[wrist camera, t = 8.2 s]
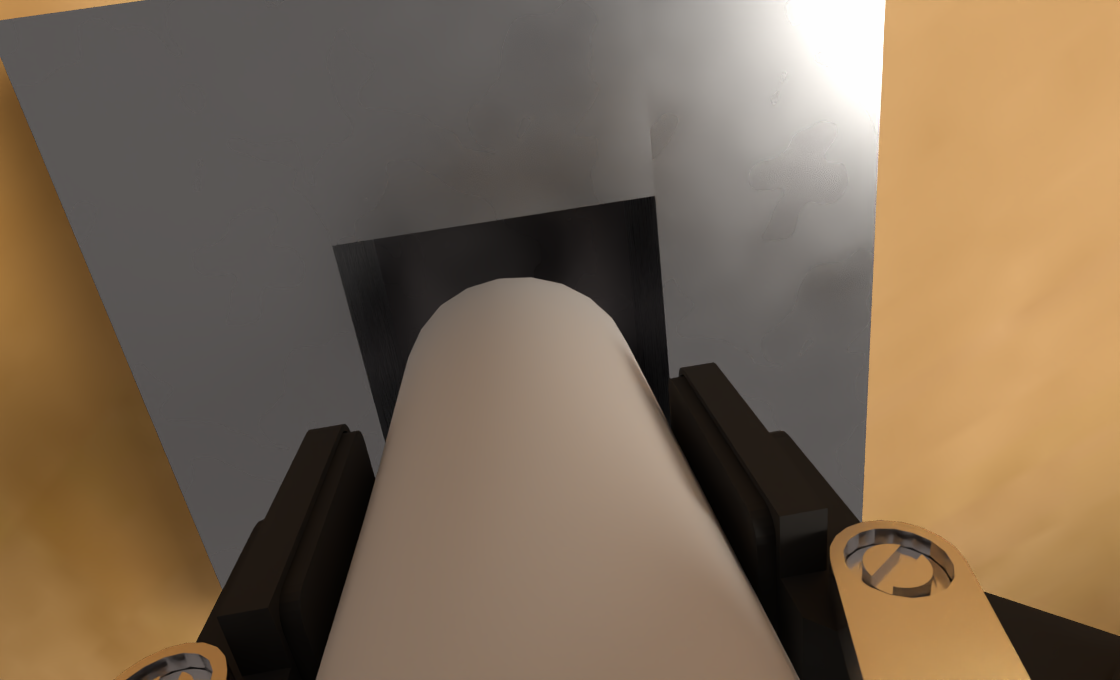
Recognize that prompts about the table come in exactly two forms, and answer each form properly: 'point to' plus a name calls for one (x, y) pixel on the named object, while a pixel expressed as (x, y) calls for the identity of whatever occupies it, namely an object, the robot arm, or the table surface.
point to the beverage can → (540, 516)
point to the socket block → (458, 203)
